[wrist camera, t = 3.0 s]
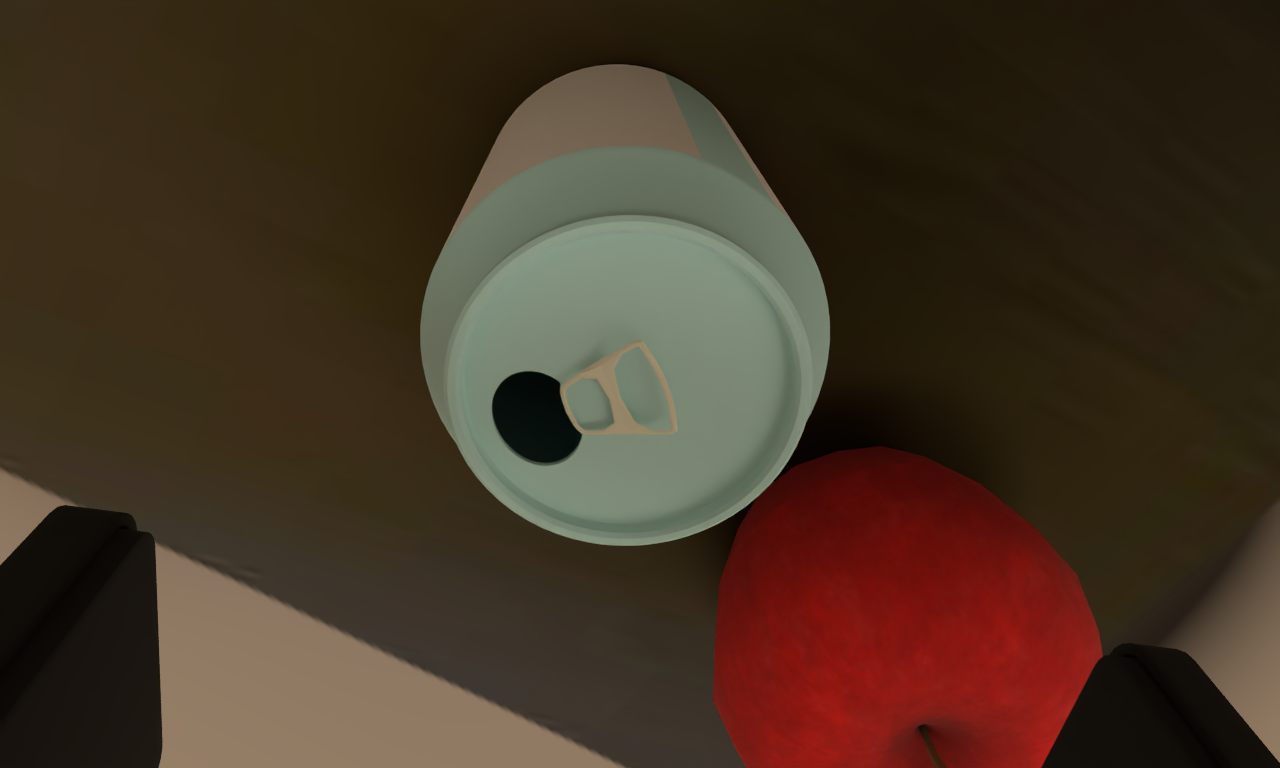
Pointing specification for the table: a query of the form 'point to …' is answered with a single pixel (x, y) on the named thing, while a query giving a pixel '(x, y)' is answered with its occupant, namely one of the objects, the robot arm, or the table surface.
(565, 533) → the can
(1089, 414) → the table surface
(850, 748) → the apple
